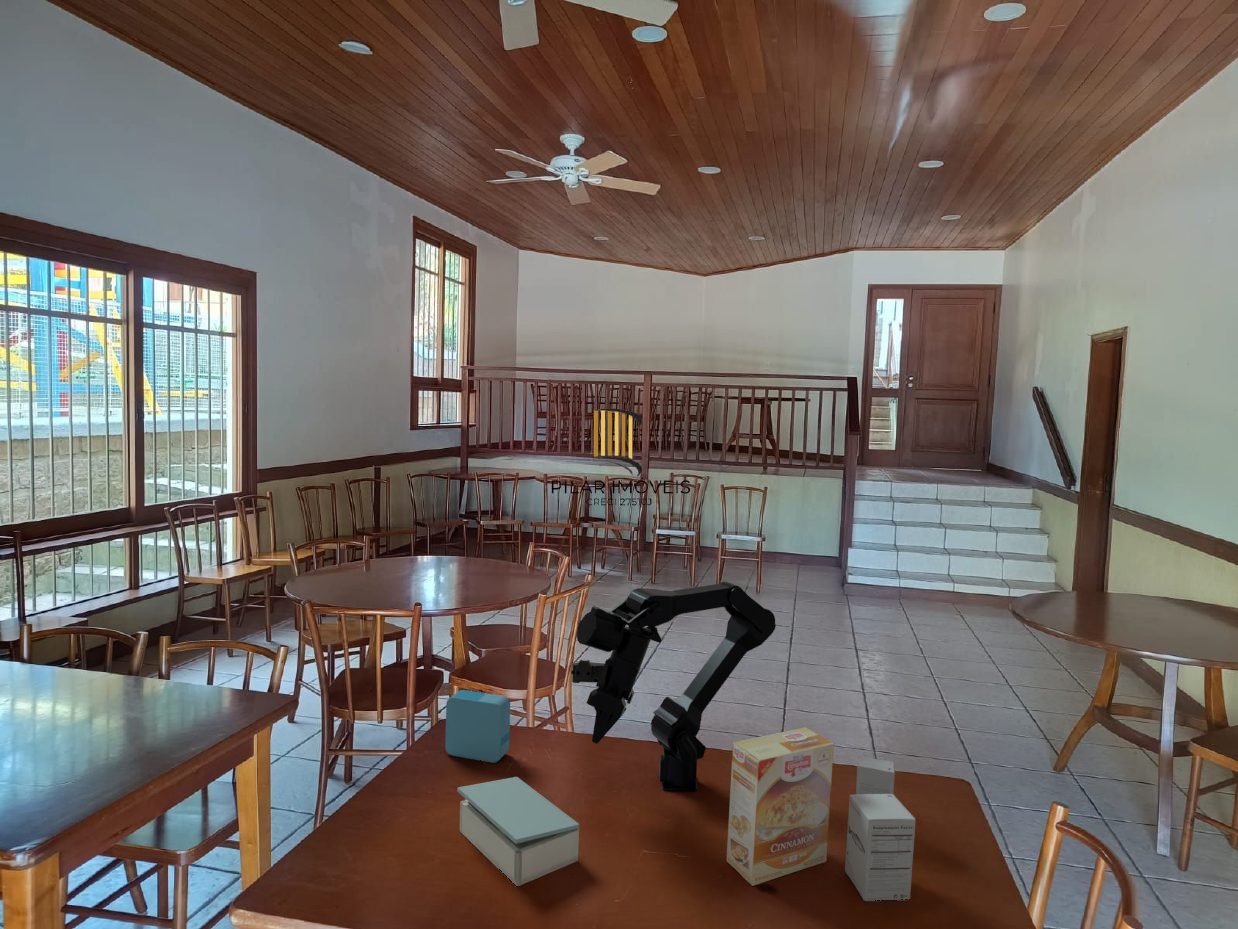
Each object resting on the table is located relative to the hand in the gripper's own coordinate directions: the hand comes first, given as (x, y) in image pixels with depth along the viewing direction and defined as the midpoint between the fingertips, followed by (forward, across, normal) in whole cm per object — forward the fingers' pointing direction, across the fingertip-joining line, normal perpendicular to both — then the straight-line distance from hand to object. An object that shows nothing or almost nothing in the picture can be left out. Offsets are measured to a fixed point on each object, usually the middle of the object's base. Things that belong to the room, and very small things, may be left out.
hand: (594, 742), depth 134 cm
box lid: (+11, +14, -7) cm, 19 cm away
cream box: (+17, +12, -5) cm, 21 cm away
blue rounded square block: (+15, -16, -22) cm, 32 cm away
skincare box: (-4, -3, +49) cm, 49 cm away
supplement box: (0, +12, +48) cm, 50 cm away
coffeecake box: (+4, +9, +34) cm, 35 cm away
